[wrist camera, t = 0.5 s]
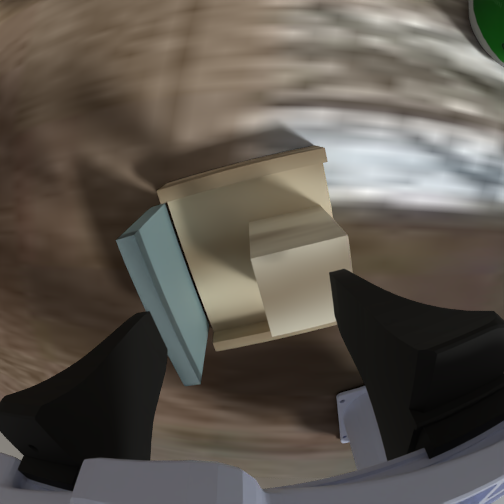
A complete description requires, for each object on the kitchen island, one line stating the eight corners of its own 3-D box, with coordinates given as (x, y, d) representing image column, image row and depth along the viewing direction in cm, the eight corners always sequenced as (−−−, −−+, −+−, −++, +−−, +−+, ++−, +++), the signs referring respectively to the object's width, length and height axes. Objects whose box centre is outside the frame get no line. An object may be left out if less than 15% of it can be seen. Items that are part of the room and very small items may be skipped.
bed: (341, 302, 23) (350, 320, 20) (218, 330, 23) (215, 351, 21) (314, 145, 18) (324, 147, 16) (166, 183, 19) (156, 191, 17)
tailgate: (209, 325, 22) (200, 384, 17) (196, 328, 22) (184, 386, 17) (165, 203, 19) (134, 234, 13) (150, 207, 19) (115, 240, 13)
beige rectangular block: (331, 269, 20) (356, 315, 15) (265, 286, 21) (272, 336, 16) (320, 205, 19) (347, 235, 14) (248, 222, 19) (250, 258, 14)
